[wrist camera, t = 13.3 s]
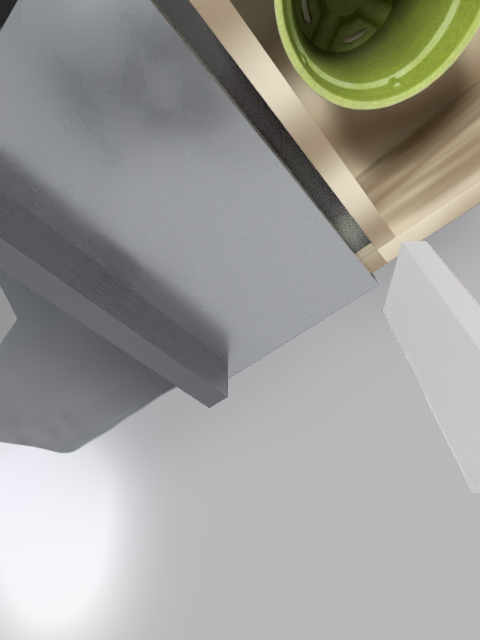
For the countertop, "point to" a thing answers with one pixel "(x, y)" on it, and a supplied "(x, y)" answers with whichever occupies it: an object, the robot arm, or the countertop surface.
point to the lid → (154, 197)
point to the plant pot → (374, 46)
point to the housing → (368, 133)
